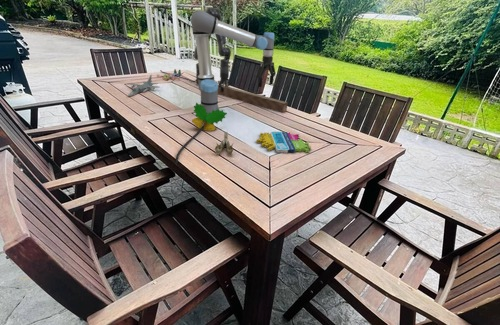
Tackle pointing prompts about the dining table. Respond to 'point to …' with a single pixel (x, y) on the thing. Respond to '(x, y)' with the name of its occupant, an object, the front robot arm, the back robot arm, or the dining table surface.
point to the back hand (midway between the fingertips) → (224, 91)
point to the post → (254, 99)
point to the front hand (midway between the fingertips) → (265, 85)
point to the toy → (171, 75)
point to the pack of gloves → (283, 142)
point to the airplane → (142, 87)
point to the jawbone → (224, 145)
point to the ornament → (207, 117)
